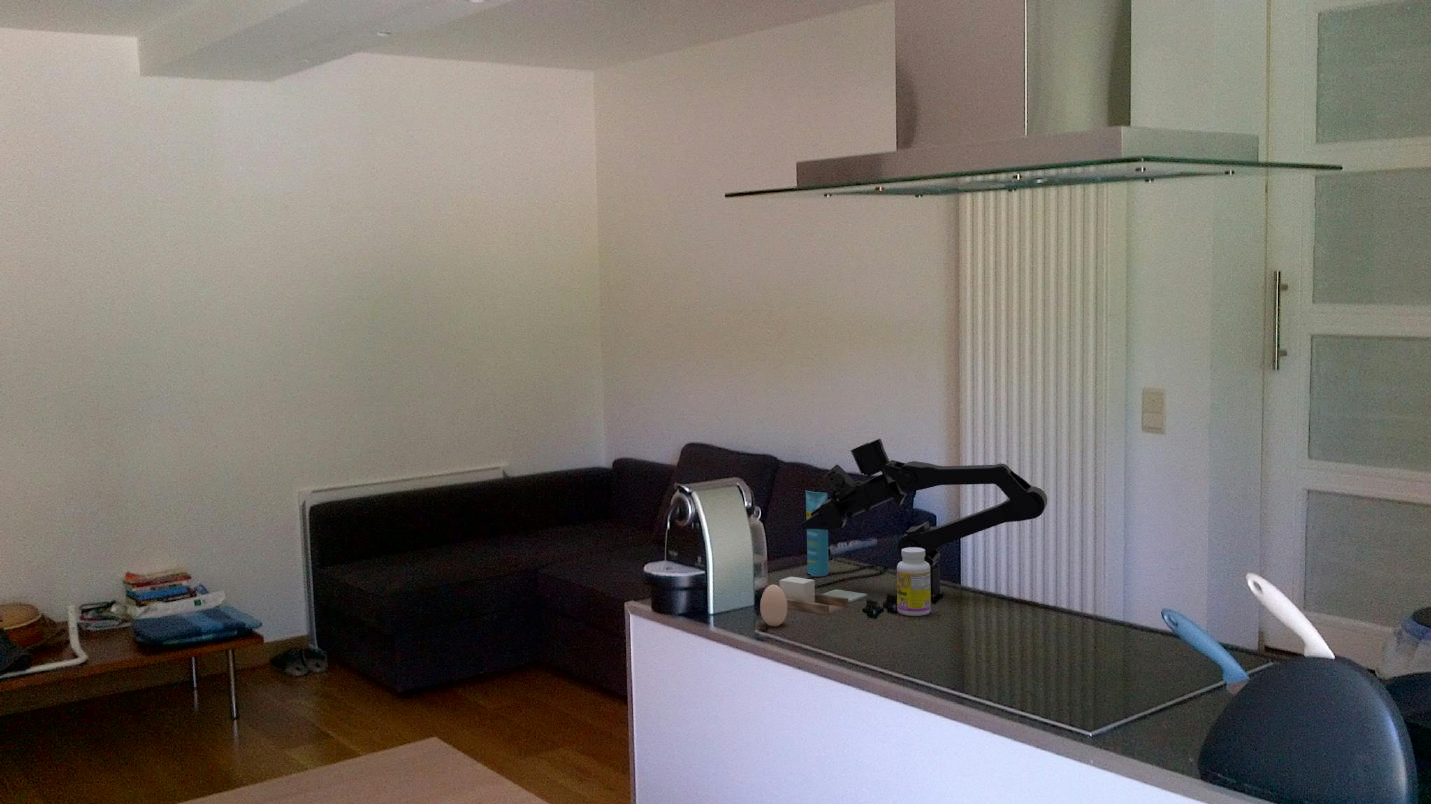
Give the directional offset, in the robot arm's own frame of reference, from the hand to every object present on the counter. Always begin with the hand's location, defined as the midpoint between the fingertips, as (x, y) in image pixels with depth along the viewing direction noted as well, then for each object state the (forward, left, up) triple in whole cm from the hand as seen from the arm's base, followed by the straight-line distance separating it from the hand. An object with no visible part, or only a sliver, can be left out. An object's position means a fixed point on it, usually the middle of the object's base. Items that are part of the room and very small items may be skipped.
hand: (806, 520), depth 275 cm
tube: (+6, -13, -15) cm, 21 cm away
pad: (-11, +3, -15) cm, 19 cm away
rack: (-10, +13, -15) cm, 22 cm away
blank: (-7, +13, -15) cm, 21 cm away
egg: (-13, +29, -15) cm, 36 cm away
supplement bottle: (-30, +5, -15) cm, 34 cm away
